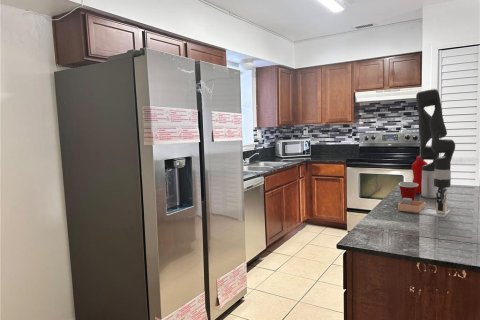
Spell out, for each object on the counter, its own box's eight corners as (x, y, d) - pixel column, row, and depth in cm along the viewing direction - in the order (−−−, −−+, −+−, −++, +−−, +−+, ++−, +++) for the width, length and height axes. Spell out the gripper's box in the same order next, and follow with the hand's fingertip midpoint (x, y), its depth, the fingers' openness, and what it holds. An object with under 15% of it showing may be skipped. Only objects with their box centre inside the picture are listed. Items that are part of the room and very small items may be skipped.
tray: (426, 208, 185) (426, 206, 185) (450, 211, 177) (450, 209, 177) (419, 214, 175) (419, 212, 175) (444, 217, 167) (444, 215, 167)
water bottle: (407, 191, 231) (407, 155, 228) (423, 190, 231) (423, 155, 228) (413, 194, 222) (414, 157, 219) (430, 193, 221) (431, 156, 219)
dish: (404, 206, 192) (404, 199, 191) (425, 209, 184) (425, 202, 184) (397, 210, 183) (397, 203, 182) (419, 213, 176) (419, 206, 175)
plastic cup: (397, 204, 196) (397, 184, 195) (398, 200, 206) (398, 181, 205) (418, 206, 191) (418, 185, 190) (418, 201, 201) (418, 182, 200)
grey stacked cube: (403, 206, 188) (404, 197, 188) (411, 207, 185) (412, 198, 185) (401, 207, 185) (401, 199, 185) (409, 208, 182) (409, 200, 182)
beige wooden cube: (437, 209, 177) (437, 200, 176) (446, 211, 174) (446, 201, 174) (435, 211, 174) (436, 202, 173) (445, 212, 171) (445, 203, 171)
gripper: (437, 175, 180) (436, 205, 182) (430, 179, 169) (429, 211, 171) (453, 176, 175) (452, 207, 177) (447, 180, 164) (446, 213, 166)
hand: (441, 209), depth 174 cm, fingers closed on beige wooden cube, 4 cm apart
